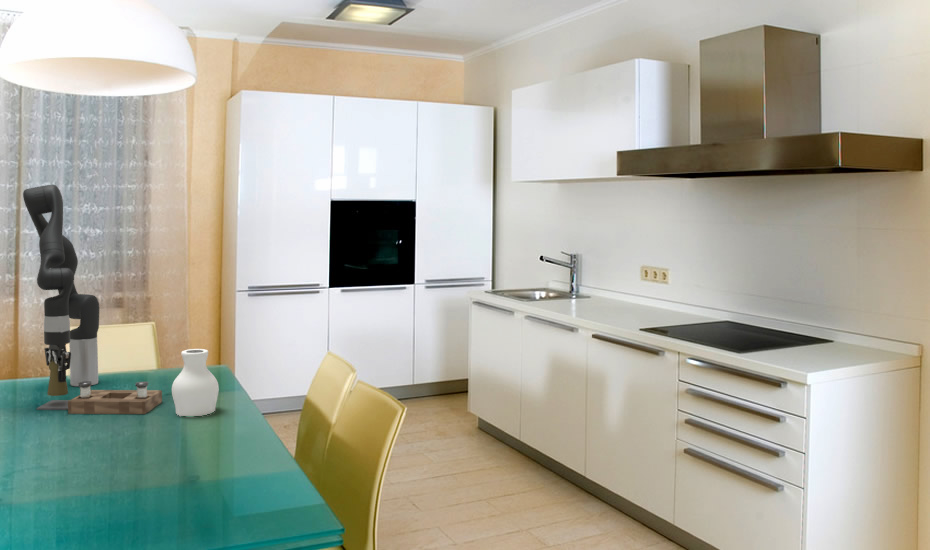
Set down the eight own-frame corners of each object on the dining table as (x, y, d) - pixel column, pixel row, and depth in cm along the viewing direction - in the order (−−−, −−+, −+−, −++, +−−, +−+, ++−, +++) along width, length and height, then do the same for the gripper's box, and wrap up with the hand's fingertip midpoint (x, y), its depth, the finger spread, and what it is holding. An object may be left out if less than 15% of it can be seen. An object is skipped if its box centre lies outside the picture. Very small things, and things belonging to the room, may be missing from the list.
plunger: (82, 405, 248) (81, 381, 247) (94, 405, 248) (93, 381, 247) (77, 408, 244) (76, 383, 243) (89, 408, 244) (88, 383, 243)
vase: (198, 404, 254) (197, 345, 252) (228, 410, 247) (227, 349, 245) (162, 413, 242) (161, 351, 240) (192, 420, 235) (191, 356, 233)
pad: (52, 401, 254) (52, 400, 254) (82, 402, 254) (82, 400, 254) (36, 409, 244) (36, 407, 244) (68, 409, 245) (68, 408, 244)
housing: (89, 401, 255) (89, 389, 255) (162, 402, 256) (161, 390, 256) (68, 413, 240) (67, 401, 240) (145, 413, 241) (145, 401, 241)
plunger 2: (138, 405, 248) (138, 381, 248) (150, 405, 248) (149, 381, 248) (134, 408, 245) (133, 384, 244) (146, 408, 245) (145, 384, 244)
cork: (65, 391, 253) (64, 358, 252) (70, 394, 249) (70, 361, 248) (44, 393, 249) (44, 360, 248) (50, 396, 244) (50, 362, 244)
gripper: (35, 328, 249) (36, 379, 250) (55, 333, 240) (56, 386, 241) (58, 325, 254) (60, 375, 256) (79, 330, 246) (80, 382, 247)
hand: (58, 380), depth 248 cm, fingers closed on cork, 5 cm apart
